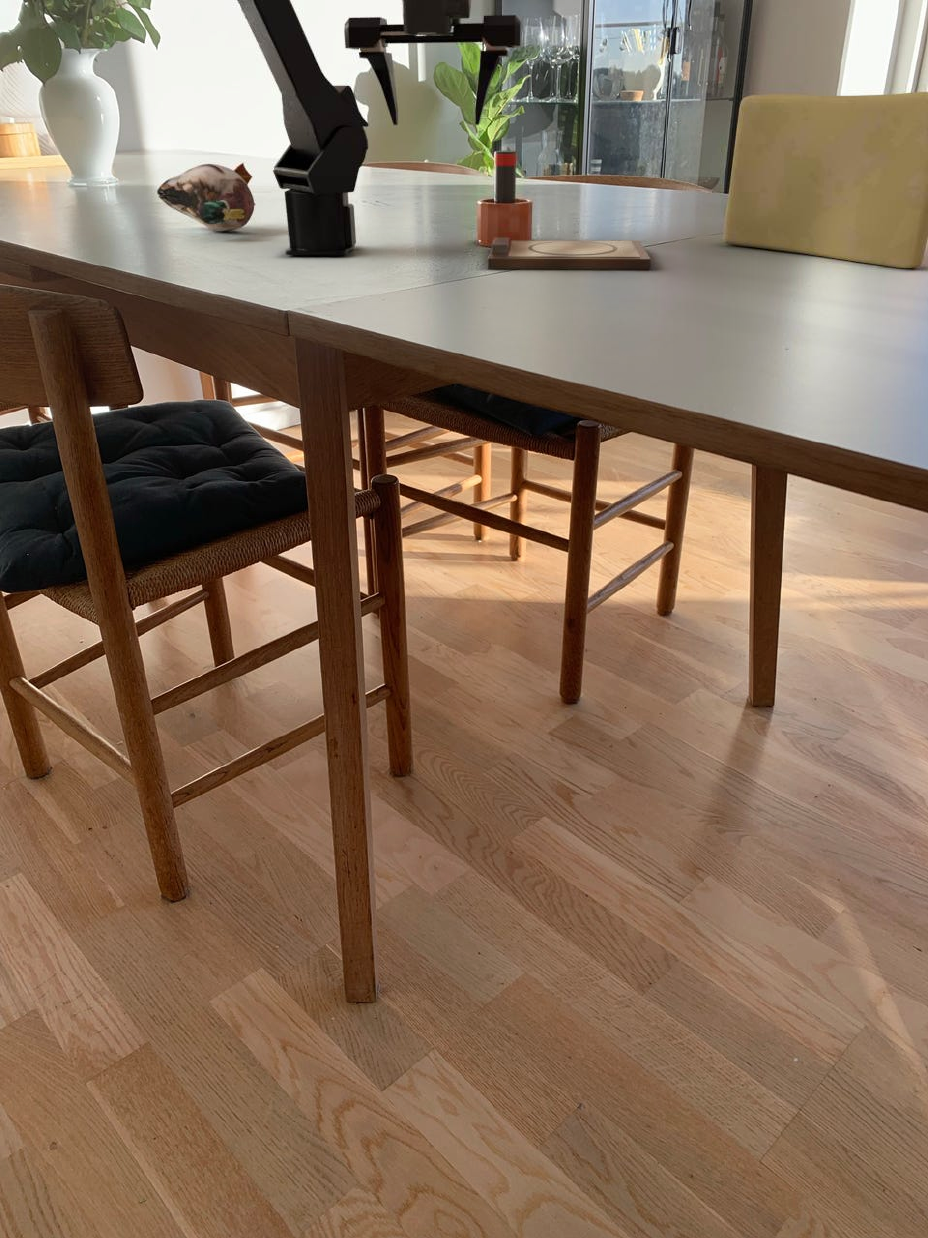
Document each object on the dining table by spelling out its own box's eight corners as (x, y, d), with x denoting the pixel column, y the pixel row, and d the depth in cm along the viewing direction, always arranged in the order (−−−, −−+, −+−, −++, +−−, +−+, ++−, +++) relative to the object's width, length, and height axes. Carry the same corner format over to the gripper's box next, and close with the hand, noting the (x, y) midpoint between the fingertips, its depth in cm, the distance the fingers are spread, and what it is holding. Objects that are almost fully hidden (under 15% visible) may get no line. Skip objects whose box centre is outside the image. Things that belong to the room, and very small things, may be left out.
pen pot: (476, 247, 103) (476, 203, 101) (479, 239, 108) (479, 197, 106) (531, 247, 103) (532, 203, 100) (531, 239, 108) (532, 197, 106)
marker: (492, 240, 104) (493, 151, 100) (493, 236, 106) (494, 150, 102) (514, 240, 104) (516, 151, 100) (515, 236, 106) (517, 150, 102)
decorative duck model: (232, 183, 104) (109, 176, 106) (240, 252, 108) (122, 245, 110) (275, 159, 116) (164, 154, 118) (281, 222, 120) (174, 216, 122)
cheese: (948, 264, 91) (991, 90, 83) (884, 274, 87) (923, 92, 79) (778, 237, 107) (802, 90, 100) (717, 244, 103) (737, 91, 96)
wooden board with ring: (487, 268, 91) (488, 249, 90) (493, 249, 101) (493, 232, 100) (650, 269, 90) (651, 250, 89) (639, 250, 100) (640, 232, 99)
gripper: (328, -55, 88) (340, 128, 96) (520, -59, 87) (517, 127, 95) (349, -42, 98) (359, 124, 106) (523, -45, 97) (519, 122, 105)
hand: (436, 124), depth 103 cm, fingers open, 9 cm apart
